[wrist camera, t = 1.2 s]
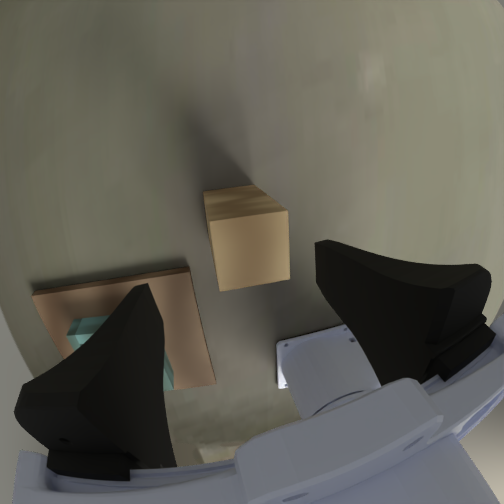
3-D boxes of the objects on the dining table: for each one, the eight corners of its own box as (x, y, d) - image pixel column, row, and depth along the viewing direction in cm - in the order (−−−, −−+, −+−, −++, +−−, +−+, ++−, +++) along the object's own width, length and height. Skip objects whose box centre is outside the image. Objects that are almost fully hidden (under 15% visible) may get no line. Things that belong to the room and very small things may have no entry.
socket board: (189, 266, 23) (189, 287, 20) (215, 377, 28) (219, 401, 25) (35, 290, 20) (20, 310, 17) (88, 388, 26) (83, 410, 23)
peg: (254, 184, 21) (287, 210, 14) (257, 232, 23) (289, 279, 16) (202, 191, 21) (209, 221, 13) (209, 240, 22) (219, 291, 15)
